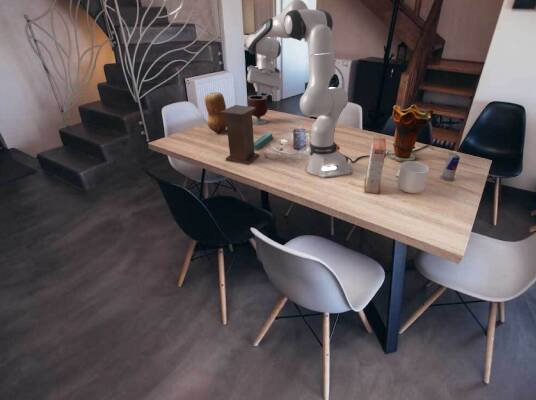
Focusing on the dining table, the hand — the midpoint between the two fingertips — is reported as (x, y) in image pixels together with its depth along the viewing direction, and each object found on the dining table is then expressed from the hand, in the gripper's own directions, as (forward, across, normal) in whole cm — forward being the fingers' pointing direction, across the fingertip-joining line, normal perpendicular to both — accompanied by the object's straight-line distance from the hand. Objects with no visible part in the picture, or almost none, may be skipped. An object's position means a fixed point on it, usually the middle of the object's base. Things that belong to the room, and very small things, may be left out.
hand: (265, 93), depth 171 cm
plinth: (+37, -12, +4) cm, 39 cm away
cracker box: (+56, +30, -50) cm, 81 cm away
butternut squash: (+13, -12, +43) cm, 47 cm away
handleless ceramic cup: (+58, +43, -60) cm, 94 cm away
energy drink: (+52, +67, -64) cm, 106 cm away
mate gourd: (-1, +19, +47) cm, 51 cm away
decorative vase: (+36, +67, -38) cm, 85 cm away
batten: (+24, +5, +15) cm, 29 cm away
